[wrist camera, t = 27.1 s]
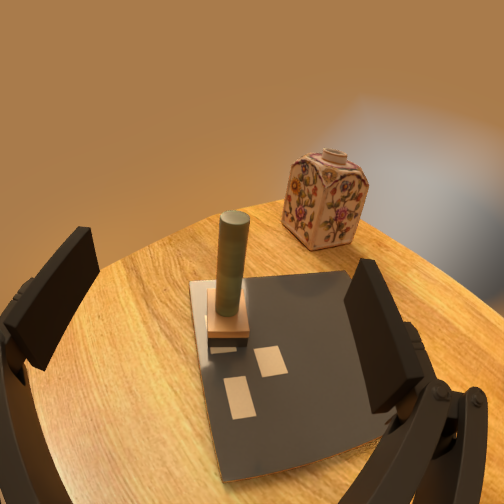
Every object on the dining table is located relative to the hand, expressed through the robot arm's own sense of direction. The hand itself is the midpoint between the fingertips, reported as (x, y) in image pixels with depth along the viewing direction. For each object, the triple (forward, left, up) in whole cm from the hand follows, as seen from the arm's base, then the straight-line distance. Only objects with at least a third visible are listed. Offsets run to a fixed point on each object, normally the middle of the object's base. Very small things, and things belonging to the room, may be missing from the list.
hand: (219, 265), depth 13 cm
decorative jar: (-35, +27, -21) cm, 49 cm away
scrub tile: (-7, +13, -21) cm, 25 cm away
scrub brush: (-13, +3, -19) cm, 23 cm away
